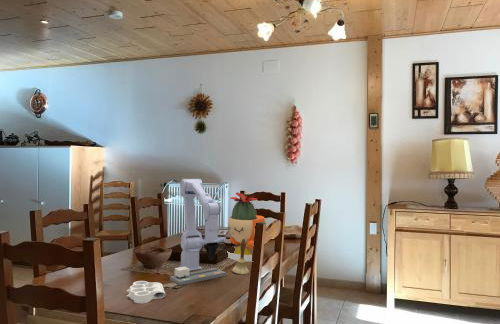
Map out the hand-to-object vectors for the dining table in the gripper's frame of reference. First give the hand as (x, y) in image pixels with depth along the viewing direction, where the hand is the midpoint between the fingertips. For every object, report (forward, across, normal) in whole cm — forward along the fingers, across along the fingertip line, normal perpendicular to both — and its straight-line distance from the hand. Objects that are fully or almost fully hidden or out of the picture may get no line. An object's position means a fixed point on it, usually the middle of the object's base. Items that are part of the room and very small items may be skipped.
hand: (211, 259), depth 183 cm
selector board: (+9, -2, +7) cm, 12 cm away
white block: (+7, -10, +7) cm, 14 cm away
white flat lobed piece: (+10, -31, 0) cm, 33 cm away
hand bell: (+9, +19, +3) cm, 21 cm away
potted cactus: (+10, +40, +26) cm, 48 cm away
